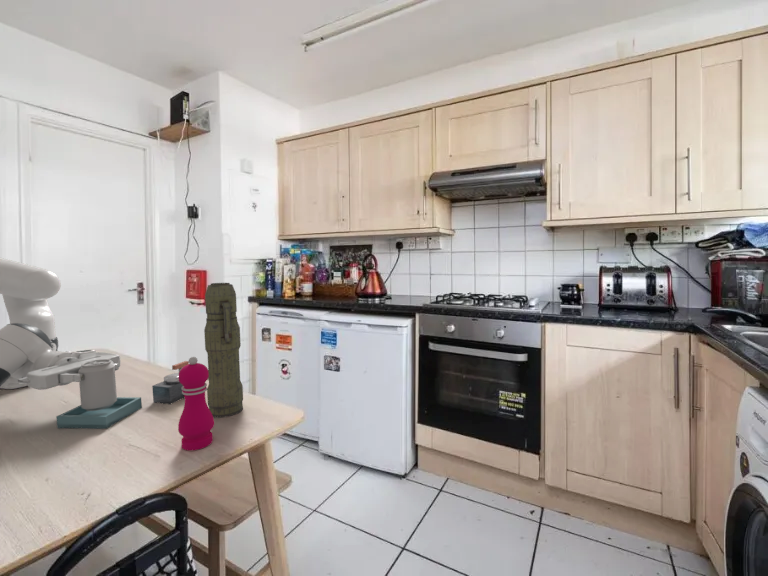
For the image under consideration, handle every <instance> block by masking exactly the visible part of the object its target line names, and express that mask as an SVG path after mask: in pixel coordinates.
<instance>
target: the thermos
mask: <svg viewBox="0 0 768 576" xmlns="http://www.w3.org/2000/svg"><path fill="white" fill-rule="evenodd" d="M236 293H237V292H236V290H235V288H234V285H233V284H230V282H213V283H212V282H211V283H210V284H208V285H207V287H206V291H205V293H204V294H205V295H204V300H205V314H206V323H205V327H204V329H203V330H204V331H203V332H204V348H205V349H204V350H205V351H206V354H207V369H208V372H209V377H208V384H207V390H206V392H207V393H206V395H207V406H208V408H209V410H210V411H211V413H212V415H213V418H227V417H232V416H235V415H237V414H239V413H241V412H242V411H243V409H244V407H243V406H244V405H243V401H244V391H243V389H244V387H243V384H242V382H241V371H240V370H241V366H240V365H241V364H240V348H241V327H240V324H239V322H238V316H237V312H238V309H237V294H236Z"/></svg>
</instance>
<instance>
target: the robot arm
mask: <svg viewBox="0 0 768 576" xmlns="http://www.w3.org/2000/svg"><path fill="white" fill-rule="evenodd" d="M61 286H62V285H61V280H60V278H59V276H58V275H56V274H55V273H54V272H52V271H51V270H48V269H46V268H42V267H37V266H35V265H31V264H28V263H23V262H19V261H15V260H10V259H8V258H7V259H6V258H2V257H0V295H1V296H2V298H3V299H2V300H3V302H4V306H5V309H6V312H7V315H8V318H9V319H8V320H9V323H8V324H6V325H5V326H3V327H2V328H0V389H5V390H13V389H19V388H23V387H28V388H31V389H34V390H40V391H43V390H48V389H52V388H55V387H58V386H67V385H70V384H71V383H73V382H75V383H79V382H80V381H83V380H85V378H84V376H85V375H84V374H83V373H79V372H78V371H79V369H80V368H81V367H82V366H81V364H83V363H85V362H88V361H93V360H100V359H109V360H111V363H112V364H114V365H115V372H116V371H118V370H119V369H120V367H121V357H120V355H119V354H117V353H113V352H105V351H97V350H96V349H85V350H77V351H67V350H66V351H58V348H59V339H58V337H57V336H56V326H55V325H56V321H55V315H54V313H53V311H52V310H51V308H50V304H49V302H48V299H50V298H53V297H54V296H56V295H57V294H58V292H59V291H60V290H61Z"/></svg>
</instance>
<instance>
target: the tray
mask: <svg viewBox="0 0 768 576" xmlns="http://www.w3.org/2000/svg"><path fill="white" fill-rule="evenodd" d="M142 403H143V402H142V397H136V396H135V397H130V396H129V397H125V396H124V397H121V396H120V397H119V396H117V401H116V402H115V403H114V404H113V405H112V406H110V407H108V408H105V409H102V410H97V411H87V410H85V409H83V408H82V407H81V404H80V405H78V406H75V407H74V408H71V409H70V410H67V411H65V412H63V413H60V414H59V415H56V428H57V429H99V430H100V429H101V430H103V429H105V430H106V429H108V428H110V427H112V426H113V425H115V424H117V423H119V422H120V421H122V420H123V419H126V418H127V417H128V416H130V415H132V414H134V413H136V412H137V411H139V410H141V409H142V408H143V407H142V406H143V405H142Z"/></svg>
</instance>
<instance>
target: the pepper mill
mask: <svg viewBox="0 0 768 576" xmlns="http://www.w3.org/2000/svg"><path fill="white" fill-rule="evenodd" d="M188 361H189V364H188V365H186V366H184V367H183V368H182V369H181V370H180V372H179V371H178V373H179V377H178V378H179V382H180V383H181V384H182V385H183V387H182V394H183V395H184V397H185V398H184V405H183V409H182V412H181V414H180V417H179V420H178V424H177V425H178V426H177V428H178V429H177V432H178V434H179V435H180V436H182V438H181V441H180V442H181V448H182V449H183V450H184V451H190V452H193V451H198V450H202V449H204V448H207V447H208V446H210V445H211V444H212V443H213V441H214V440H213V439H214V437H213V432H212V430H213V428H214V426H215V420H214V418H215V417H213V415H212V413H211V411H210V410H209V406H208V402H207V400H206V392H207V388H208V384H207V380H209V372H208V366H206V365H205V364H202V363H200V362H198V358H197V357H196V356H191V357H190V358H188Z"/></svg>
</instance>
